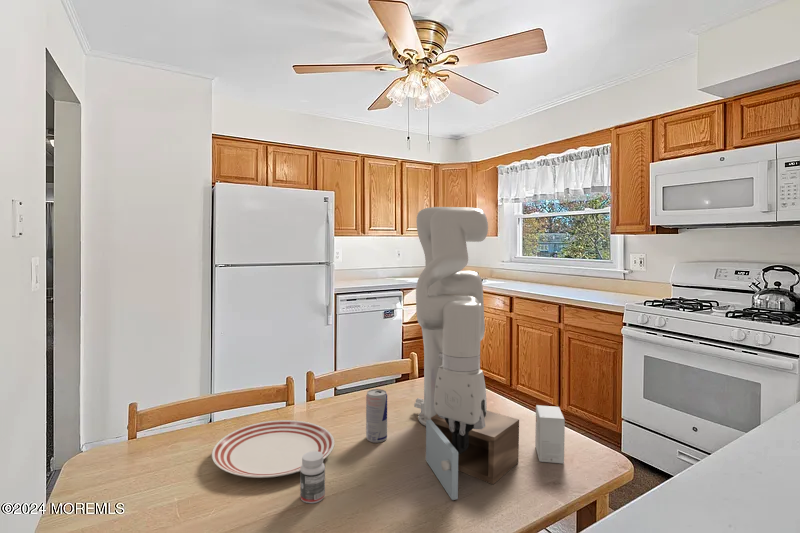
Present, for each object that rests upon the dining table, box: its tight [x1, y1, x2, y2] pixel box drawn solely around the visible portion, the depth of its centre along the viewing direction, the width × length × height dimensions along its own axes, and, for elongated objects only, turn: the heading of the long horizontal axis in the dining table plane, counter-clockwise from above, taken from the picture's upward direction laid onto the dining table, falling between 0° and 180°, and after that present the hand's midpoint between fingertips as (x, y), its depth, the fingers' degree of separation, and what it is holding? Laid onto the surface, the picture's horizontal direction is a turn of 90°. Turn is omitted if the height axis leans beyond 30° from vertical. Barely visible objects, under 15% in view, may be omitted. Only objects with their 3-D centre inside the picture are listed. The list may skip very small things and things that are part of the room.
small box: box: [534, 404, 566, 465], centre depth 103 cm, size 8×6×10 cm
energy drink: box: [365, 388, 388, 444], centre depth 111 cm, size 5×5×12 cm
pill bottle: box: [299, 451, 326, 504], centre depth 86 cm, size 5×5×8 cm
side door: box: [425, 420, 459, 501], centre depth 92 cm, size 16×3×9 cm, turn 15°
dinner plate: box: [211, 419, 335, 479], centre depth 102 cm, size 27×27×3 cm
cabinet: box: [431, 410, 520, 485], centre depth 100 cm, size 16×12×10 cm
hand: (460, 450), depth 89 cm, fingers closed
